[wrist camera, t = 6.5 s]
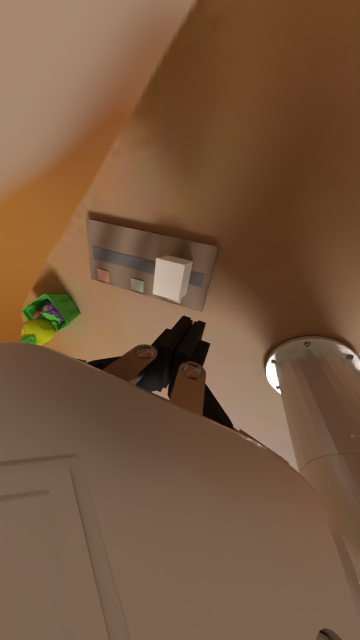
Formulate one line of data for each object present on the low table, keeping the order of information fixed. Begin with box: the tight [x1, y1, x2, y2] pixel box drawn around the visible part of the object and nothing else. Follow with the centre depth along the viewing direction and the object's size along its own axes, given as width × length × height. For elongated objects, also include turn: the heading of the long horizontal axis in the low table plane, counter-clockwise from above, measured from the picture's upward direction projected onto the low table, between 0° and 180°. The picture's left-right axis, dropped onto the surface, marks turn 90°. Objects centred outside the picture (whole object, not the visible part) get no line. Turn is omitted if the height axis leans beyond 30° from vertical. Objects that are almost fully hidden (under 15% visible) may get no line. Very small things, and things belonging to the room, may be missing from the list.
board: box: [86, 219, 219, 312], centre depth 28 cm, size 22×10×2 cm, turn 80°
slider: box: [153, 255, 193, 301], centre depth 25 cm, size 4×5×4 cm
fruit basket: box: [20, 294, 81, 346], centre depth 37 cm, size 11×9×11 cm
